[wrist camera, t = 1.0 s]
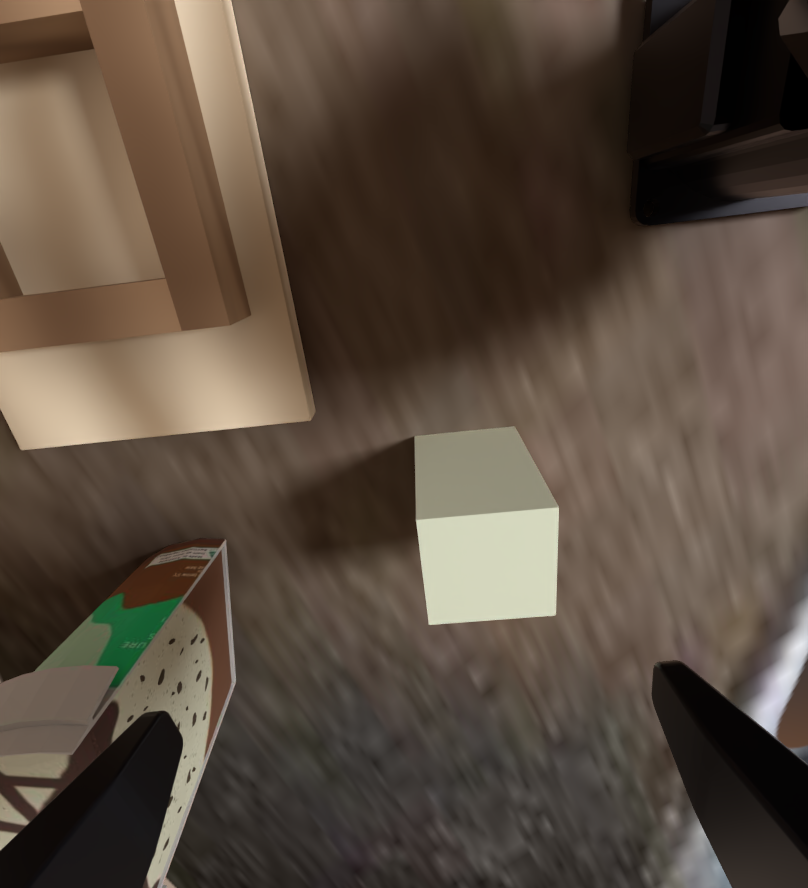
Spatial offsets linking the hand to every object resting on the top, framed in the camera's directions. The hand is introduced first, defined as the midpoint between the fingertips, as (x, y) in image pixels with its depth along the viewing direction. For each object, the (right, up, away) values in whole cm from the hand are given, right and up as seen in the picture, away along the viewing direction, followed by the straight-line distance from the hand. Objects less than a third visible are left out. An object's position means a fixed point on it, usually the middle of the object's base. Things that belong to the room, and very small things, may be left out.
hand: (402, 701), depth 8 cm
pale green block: (+3, +3, +11) cm, 12 cm away
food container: (-12, -3, +14) cm, 19 cm away
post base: (-10, +13, +6) cm, 18 cm away
